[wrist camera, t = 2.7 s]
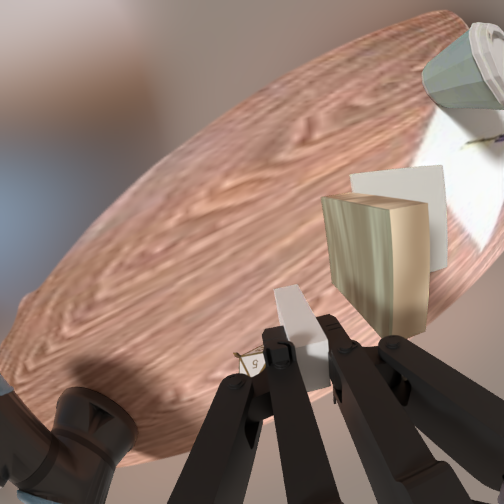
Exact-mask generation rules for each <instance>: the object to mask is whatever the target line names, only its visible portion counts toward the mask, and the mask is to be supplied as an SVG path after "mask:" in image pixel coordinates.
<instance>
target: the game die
mask: <svg viewBox="0 0 504 504" xmlns="http://www.w3.org/2000/svg"><path fill="white" fill-rule="evenodd" d="M263 348H264V345H261V346H259V347H257V348H255V349H253V350H251V351H249V352H247V353H245V354H243V355H239V354H238V352H237V353H233V354H234V355H235V357H237V358H239V373H241V374H246V375H248V376H249V377H253V376H255V375H257V374H259V373H260V372H262V371H263V370H264V368H265V366H266V364H265V360H264V355H263Z"/></svg>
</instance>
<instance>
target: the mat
mask: <svg viewBox="0 0 504 504" xmlns="http://www.w3.org/2000/svg"><path fill="white" fill-rule="evenodd" d="M349 175H350V181H351V188H352V193H361V194H369V195H377V196H385V197H392V198H399V199H406V200H413V201H419V202H425V203H428V211H429V229H430V273H431V272H434V271H437V270H440V269H443V268H446V267H447V247H448V240H447V209H446V195H445V185H444V176H443V168H442V165H433V166H420V167H409V168H399V169H390V170H381V171H372V172H364V173H356V174H349Z"/></svg>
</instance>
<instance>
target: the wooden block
mask: <svg viewBox="0 0 504 504" xmlns="http://www.w3.org/2000/svg"><path fill="white" fill-rule="evenodd" d="M321 202H322V209H323V215H324V222H325V229H326V237H327V244H328V252H329V261H330V269H331V279H332V283H333V285H334V286H335V287H336V288H337V289H338V290H339V291H340V292H341V293H342V294H343V295H344V297H345V298H346V299H347V300H348V301H349V302H350V303H351V304H352V305H353V306H354V308H355V309H356V310H357V311H358V312H359V313H360V314H361V315H362V316H363V318H364V319H365V320H366V321H367V322H368V323H369V324H370V326H371V327H372V328H373V329H374V330H375V331H376V332H377V333H378V335H379V336H380V337H381V338H383V337H386V336H389V335H399V336H401V337H404V338H405V339H407V338H410V337H413V336H415V335H418V334H420V333H422V332H425V329H426V321H427V311H428V299H429V280H430V229H429V211H428V203H425V202H419V201H413V200H406V199H399V198H392V197H385V196H377V195H369V194H361V193H352V192H349V193H343V194H337V195H331V196H325V197H321Z"/></svg>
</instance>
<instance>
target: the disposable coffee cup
mask: <svg viewBox="0 0 504 504" xmlns="http://www.w3.org/2000/svg"><path fill="white" fill-rule="evenodd" d="M422 84H423V86H424V88H425V90H426V93H427V94H428V95H429V97H430V98H431V99H432V100H433V101H434V102H435V103H437V104H439V105H441V106H444V107H446V108H482V109H497V110H504V32H503V31H502V30H501V29H500V28H499V27H498V26H497V25H494V24H490V23H487V24H486V23H479V22H477V23H473V24H472V26H471V28H470V29H469V30H468V31H467V32H466V33H464V34H463V35H462V36H461V37H459V38H458V39H457V40H455V41H454V42H453V43H452V44H451V45H449V46H448V47H447V48H446V49H444V50H443V51H442V52H441V53H439V54H438V55H437V56H436V57H435V58H433V59H432V60H431V61H430V62H428V63H427V65H426V66H425V68H424V69H423V72H422Z"/></svg>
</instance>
